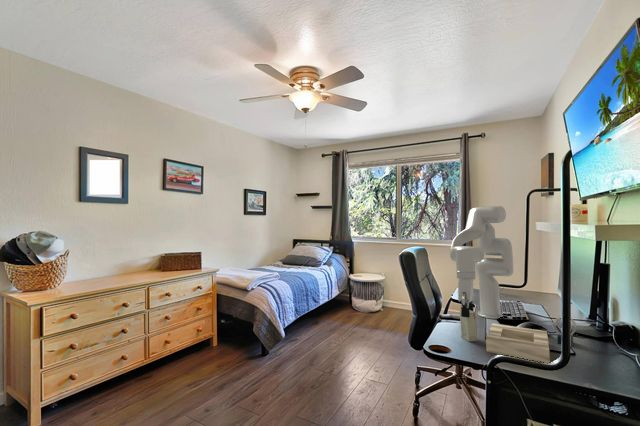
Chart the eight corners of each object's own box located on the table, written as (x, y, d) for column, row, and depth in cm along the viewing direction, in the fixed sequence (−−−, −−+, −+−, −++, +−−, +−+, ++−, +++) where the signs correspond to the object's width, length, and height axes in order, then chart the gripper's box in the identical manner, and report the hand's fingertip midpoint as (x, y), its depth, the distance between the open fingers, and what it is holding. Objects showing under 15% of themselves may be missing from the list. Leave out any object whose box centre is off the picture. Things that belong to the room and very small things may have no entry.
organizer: (492, 334, 136) (492, 323, 137) (547, 343, 125) (546, 331, 125) (486, 351, 119) (485, 338, 119) (550, 363, 107) (549, 349, 107)
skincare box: (478, 341, 129) (476, 312, 130) (468, 341, 129) (466, 313, 129) (469, 336, 135) (468, 308, 136) (460, 336, 135) (459, 309, 136)
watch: (554, 338, 129) (552, 313, 130) (578, 343, 124) (577, 316, 124) (551, 342, 126) (550, 316, 126) (576, 347, 120) (574, 320, 120)
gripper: (460, 272, 142) (462, 309, 141) (452, 277, 128) (454, 317, 127) (478, 273, 138) (479, 311, 137) (471, 278, 124) (473, 320, 123)
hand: (467, 314), depth 132 cm, fingers open, 9 cm apart
